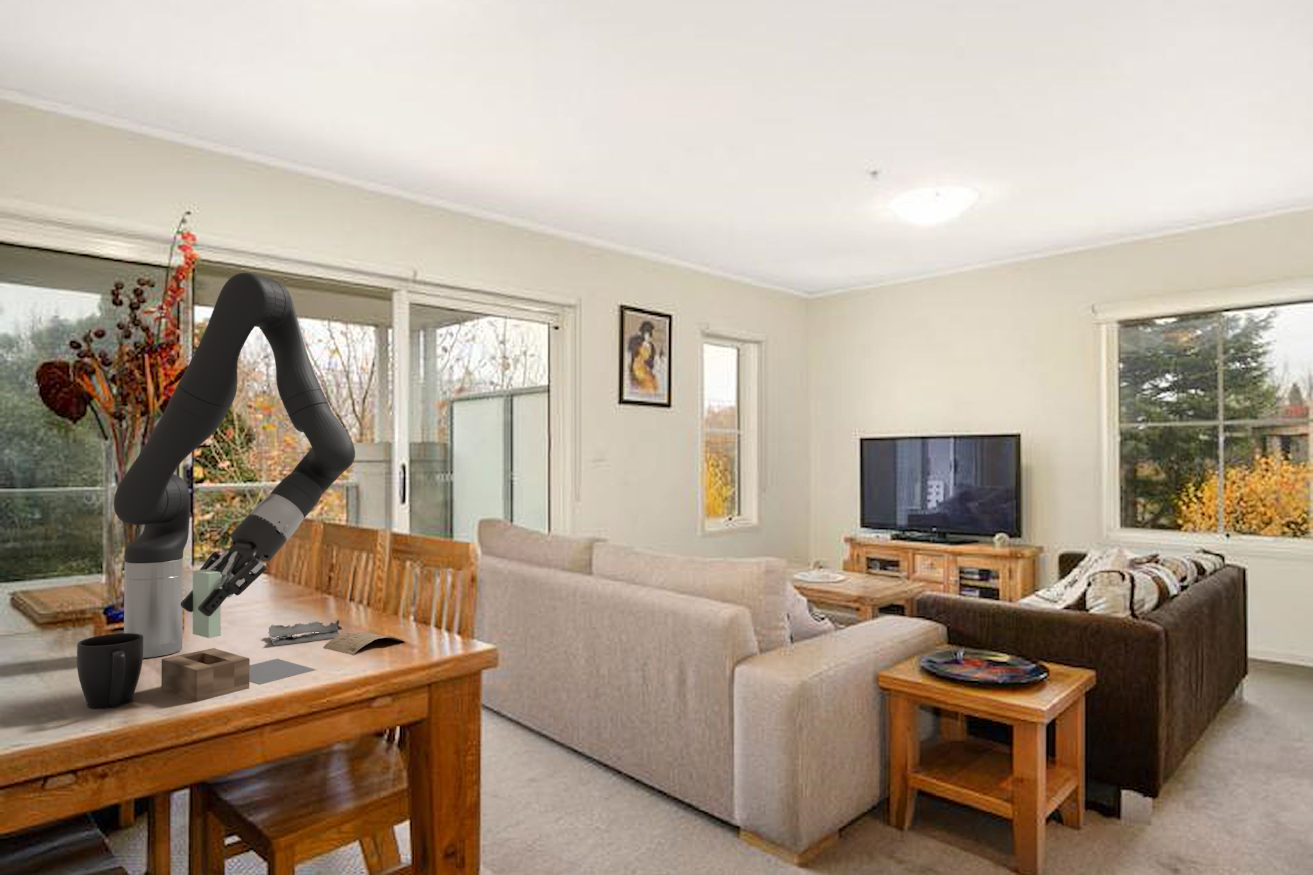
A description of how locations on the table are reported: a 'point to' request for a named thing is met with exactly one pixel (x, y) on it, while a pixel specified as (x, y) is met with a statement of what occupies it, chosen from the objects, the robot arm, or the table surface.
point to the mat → (275, 671)
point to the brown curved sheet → (353, 641)
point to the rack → (205, 674)
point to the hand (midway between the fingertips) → (194, 610)
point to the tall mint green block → (201, 589)
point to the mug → (109, 668)
